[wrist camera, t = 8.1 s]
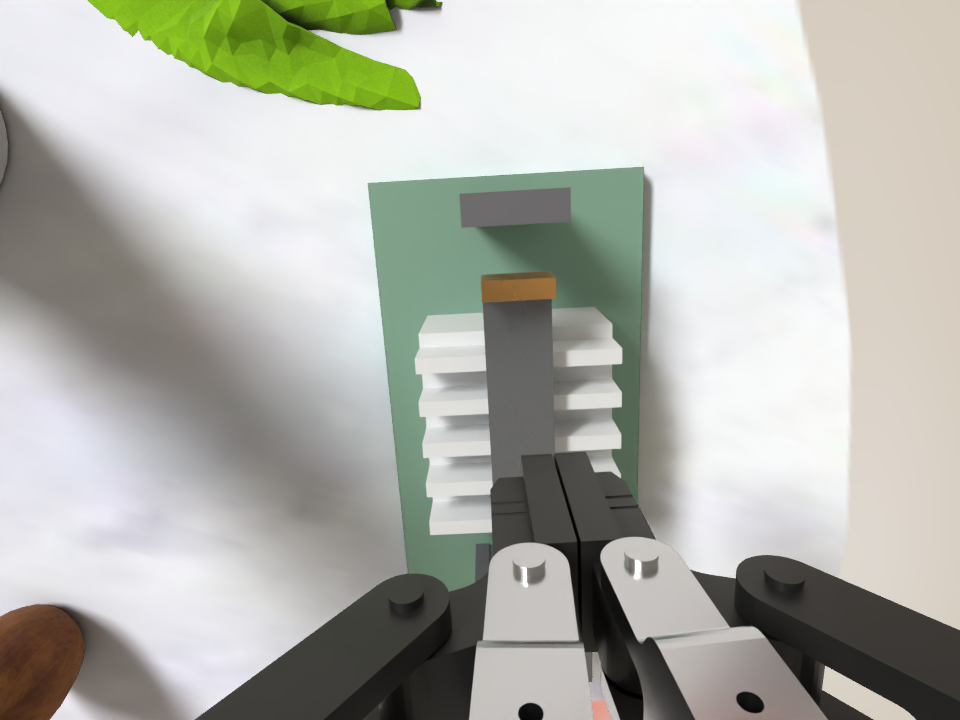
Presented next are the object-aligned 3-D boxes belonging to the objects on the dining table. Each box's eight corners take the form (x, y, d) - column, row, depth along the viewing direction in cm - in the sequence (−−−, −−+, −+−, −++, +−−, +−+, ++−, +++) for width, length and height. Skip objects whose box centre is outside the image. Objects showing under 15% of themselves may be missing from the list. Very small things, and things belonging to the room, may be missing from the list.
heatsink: (412, 589, 37) (387, 727, 27) (371, 183, 30) (318, 175, 20) (631, 580, 36) (684, 716, 27) (638, 167, 30) (712, 152, 20)
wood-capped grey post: (561, 644, 29) (568, 684, 26) (497, 646, 29) (499, 687, 26) (553, 269, 24) (561, 277, 21) (476, 273, 24) (475, 281, 21)
